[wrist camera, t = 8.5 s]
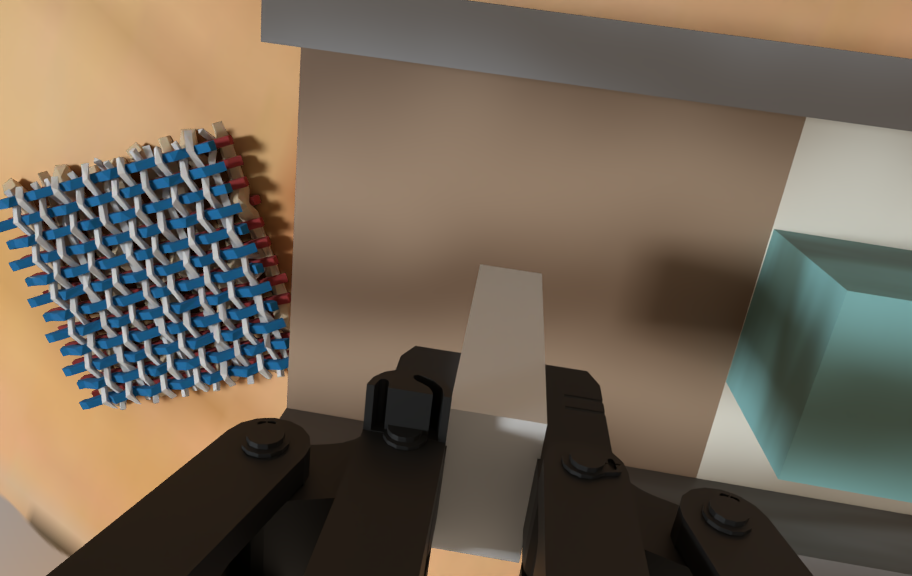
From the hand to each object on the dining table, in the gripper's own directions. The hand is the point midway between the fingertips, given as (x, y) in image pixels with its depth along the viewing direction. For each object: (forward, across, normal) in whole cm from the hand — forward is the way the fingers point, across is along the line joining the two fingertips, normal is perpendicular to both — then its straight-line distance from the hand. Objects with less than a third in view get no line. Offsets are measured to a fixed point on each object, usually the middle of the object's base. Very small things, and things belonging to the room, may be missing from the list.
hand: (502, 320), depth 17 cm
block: (+4, +10, 0) cm, 11 cm away
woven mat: (+10, -14, -5) cm, 18 cm away
